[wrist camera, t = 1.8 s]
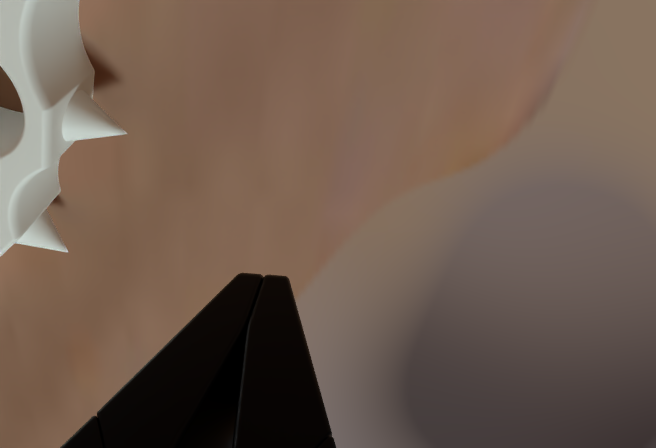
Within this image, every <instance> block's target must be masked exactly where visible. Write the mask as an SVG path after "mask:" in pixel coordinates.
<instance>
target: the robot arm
mask: <svg viewBox="0 0 656 448" xmlns="http://www.w3.org/2000/svg"><path fill="white" fill-rule="evenodd" d="M97 417H98V418H97ZM60 448H336V445H335V442H334V439H333V437H332V432H331V428H330V425H329V421H328V418H327V414H326V411H325V407H324V403H323V399H322V396H321V392H320V389H319V386H318V382H317V378H316V374H315V371H314V367H313V364H312V360H311V356H310V353H309V349H308V346H307V342H306V338H305V335H304V331H303V328H302V324H301V320H300V317H299V314H298V310H297V306H296V302H295V299H294V295H293V292H292V288H291V284H290V281H289V279H288V277H286V276H278V275H266V276H265V277H263V276H262V275H261V274H251V273H240V274H238V275H237V276H236V277H235V278H234V279H233V280H232V281H231V282H230V283H229V284H228V285H227V286H226V287H225V288H223V289H222V290H221V291H220V292H219V293H218V294H217V295H216V296H215V297H214V298H213V299H212V300H211V301H210V302H209V303H208V304H207V305H206V306H205V307H204V308H203V309H202V310H201V311H200V312H199V313H198V314H197V315H196V316H195V317H194V318H193V319H192V320H191V321H190V322H189V323H188V324H187V325H186V326H185V327H184V328H183V329H182V330H181V331H180V332H179V333H178V334H177V335H176V336H175V337H173V338H172V339H171V340H170V341H169V342H168V343H167V344H166V345H165V346H164V347H163V348H162V349H161V350H160V351H159V352H158V353H157V354H156V355H155V356H154V357H153V358H152V359H151V360H150V361H149V362H148V363H147V364H146V365H145V366H144V367H143V368H142V369H141V370H140V371H139V372H138V373H137V374H136V375H135V376H134V377H133V378H132V379H131V380H130V381H129V382H128V383H127V384H126V385H125V386H124V387H122V388H121V389H120V390H119V391H118V392H117V393H116V394H115V395H114V396H113V397H112V398H111V399H110V400H109V401H108V402H107V403H106V404H105V405H104V406H103V407H102V408H101V409H100V410H99V411H98V412H97V416H93V417H92V418H91V419H90V420H89V421H88V422H86V423H85V424H84V425H83V426H82V427H81V428H80V429H79V430H78V431H77V432H76V433H75V434H74V435H73V436H72V437H71V438H70V439H69V440H68V441H67V442H66V443H65V444H64V445H62V446H61V447H60Z"/></svg>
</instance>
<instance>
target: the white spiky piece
mask: <svg viewBox="0 0 656 448" xmlns="http://www.w3.org/2000/svg"><path fill="white" fill-rule="evenodd" d="M79 1H80V0H0V66H1V67H2V68H3V70H4V71H5V72H6V74H7V75H8V76H9V78H10V80H11V81H12V83H13V84H14V86H15V88H16V90H17V92H18V95H19V97H20V100H21V103H22V107H23V113H21V112H17V111H13V110H10V109H6V108H3V107H0V256H2V255H3V254H4V253H5V252H6V251H7V250H8V249H9V248H10V247H11V246H12V245H13V244H14V243H18V244H23V245H29V246H35V247H40V248H46V249H52V250H57V251H63V252H68V250H67V248H66V246H65V244H64V242H63V240H62V238H61V236H60V234H59V232H58V230H57V228H56V226H55V224H54V222H53V220H52V218H51V216H50V214H49V213H48V211H47V209H46V208H47V207H48V206H49V205H50V203H51V202H52V201H53V200H54V199H55V198H56V197H57V195H58V194H59V193H60V192H61V188H60V184H59V179H58V165H59V159H60V156H61V155H62V154H63V153H64V152H65V151H66V150H67V149H68V148H69V147H70V146H71V145H72V144H73V143H74V142H75V141H76V140H83V139H91V138H99V137H107V136H116V135H124V134H127V133H126V132H125V131H124V130H123V129H122V128H121V127H120V126H119V125H118V124H117V123H116V122H115V121H114V120H113V119H112V118H111V117H110V116H109V115H108V114H107V113H106V112H105V111H104V110H103V109H102V108H101V107H100V106H99V105H98V104H97V103H96V102H95V101H94V100H93V88H94V76H95V70H94V68H93V66H92V65H91V63H90V60H89V58H88V56H87V53H86V51H85V48H84V45H83V41H82V38H81V33H80V27H79ZM68 253H69V252H68Z"/></svg>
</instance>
